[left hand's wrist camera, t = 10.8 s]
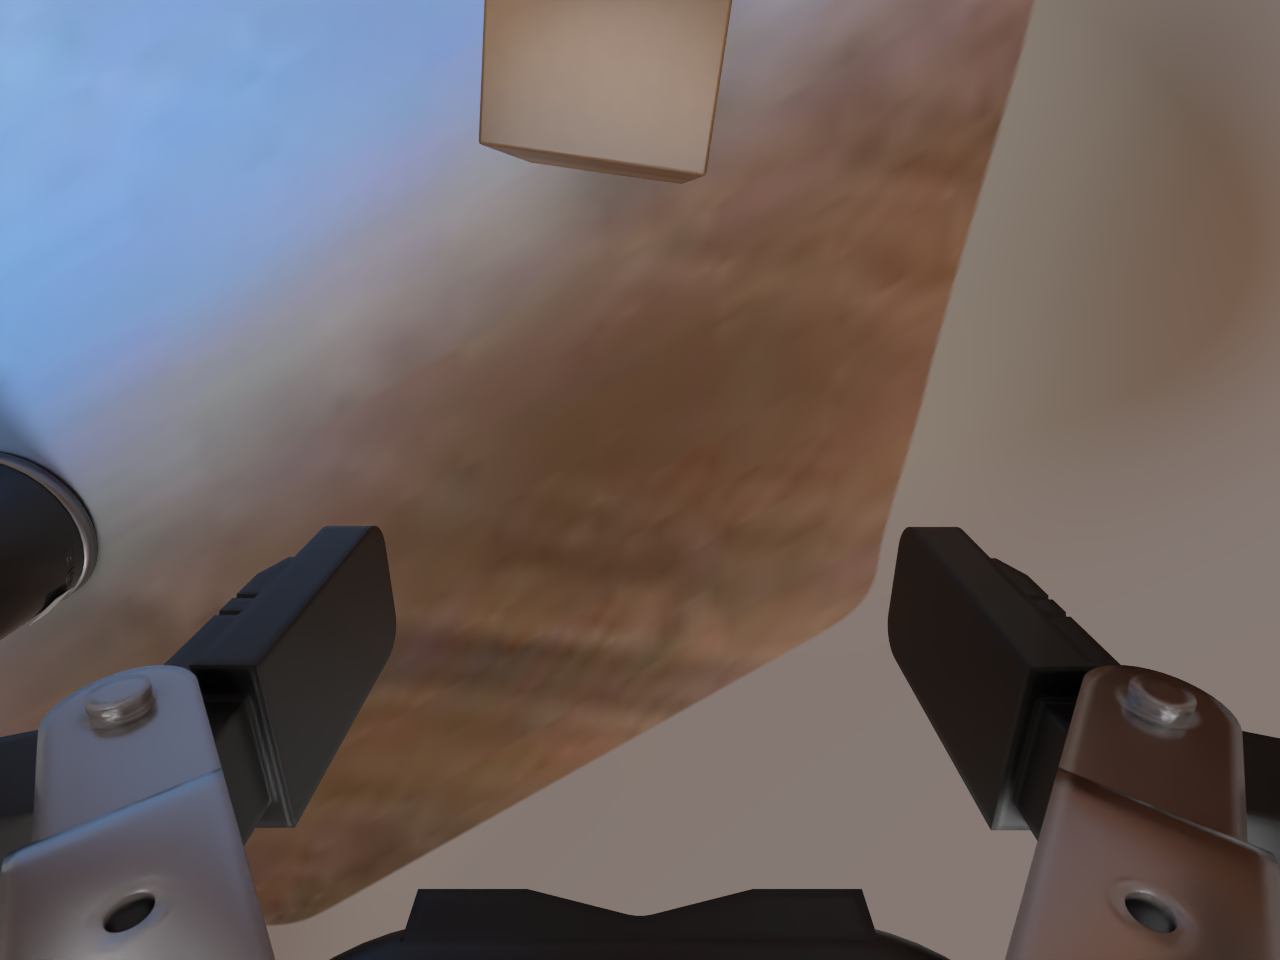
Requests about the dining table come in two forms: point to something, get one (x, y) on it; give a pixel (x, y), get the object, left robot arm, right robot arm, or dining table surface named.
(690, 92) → the bar
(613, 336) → the dining table surface
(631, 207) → the dining table surface
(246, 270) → the dining table surface
